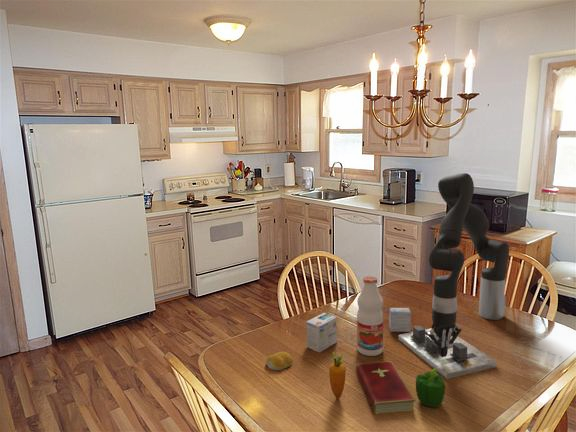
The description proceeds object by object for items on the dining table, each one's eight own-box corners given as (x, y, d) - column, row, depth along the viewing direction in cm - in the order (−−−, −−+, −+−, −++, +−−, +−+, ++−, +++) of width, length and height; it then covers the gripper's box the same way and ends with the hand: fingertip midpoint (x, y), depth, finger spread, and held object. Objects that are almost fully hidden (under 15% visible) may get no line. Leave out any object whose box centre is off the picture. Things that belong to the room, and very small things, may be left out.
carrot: (328, 394, 127) (327, 350, 124) (344, 393, 127) (343, 348, 124) (331, 404, 122) (330, 358, 119) (347, 403, 122) (347, 357, 119)
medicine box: (408, 327, 168) (408, 307, 167) (410, 332, 164) (411, 312, 162) (388, 327, 169) (389, 307, 167) (390, 332, 165) (390, 312, 163)
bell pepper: (429, 415, 116) (430, 383, 114) (409, 398, 123) (410, 368, 121) (451, 406, 119) (453, 375, 117) (431, 390, 127) (432, 361, 125)
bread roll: (296, 365, 144) (296, 354, 143) (274, 373, 139) (274, 363, 138) (283, 355, 151) (283, 345, 150) (262, 363, 146) (262, 352, 145)
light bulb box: (324, 337, 163) (324, 311, 161) (337, 342, 158) (337, 316, 156) (306, 347, 155) (305, 320, 153) (319, 353, 151) (318, 326, 149)
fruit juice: (379, 343, 156) (379, 273, 151) (385, 356, 147) (386, 282, 142) (354, 344, 156) (354, 274, 151) (359, 357, 147) (359, 283, 141)
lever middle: (434, 344, 149) (434, 334, 148) (441, 350, 145) (441, 339, 144) (423, 347, 148) (424, 336, 147) (430, 352, 144) (431, 341, 143)
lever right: (420, 335, 156) (421, 324, 156) (427, 339, 153) (427, 329, 152) (410, 337, 155) (411, 326, 154) (417, 341, 151) (417, 331, 151)
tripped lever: (460, 352, 143) (461, 341, 142) (469, 358, 139) (469, 347, 138) (450, 355, 142) (450, 344, 141) (458, 361, 138) (458, 349, 137)
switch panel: (441, 330, 164) (442, 325, 164) (496, 366, 138) (496, 361, 138) (398, 339, 159) (398, 334, 158) (446, 379, 132) (446, 373, 132)
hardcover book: (374, 415, 117) (374, 402, 116) (356, 374, 138) (356, 362, 137) (415, 412, 118) (415, 399, 117) (391, 371, 138) (391, 360, 138)
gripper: (453, 300, 140) (451, 346, 143) (420, 306, 136) (418, 354, 140) (469, 308, 133) (466, 357, 136) (434, 315, 129) (432, 365, 133)
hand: (442, 355), depth 138 cm, fingers closed
